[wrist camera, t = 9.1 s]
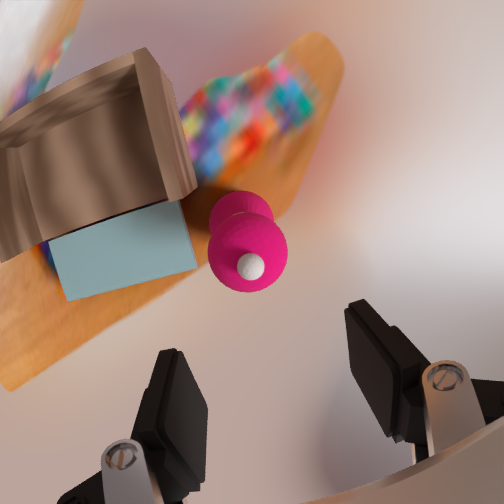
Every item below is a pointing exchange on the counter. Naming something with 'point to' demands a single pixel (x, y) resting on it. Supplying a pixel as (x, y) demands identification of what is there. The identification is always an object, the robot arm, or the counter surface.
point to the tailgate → (124, 251)
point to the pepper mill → (245, 242)
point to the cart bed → (91, 152)
